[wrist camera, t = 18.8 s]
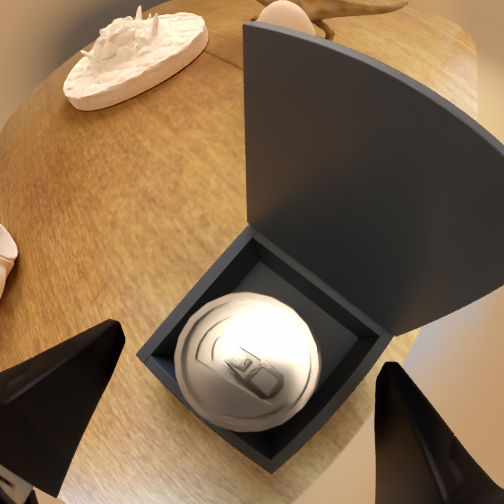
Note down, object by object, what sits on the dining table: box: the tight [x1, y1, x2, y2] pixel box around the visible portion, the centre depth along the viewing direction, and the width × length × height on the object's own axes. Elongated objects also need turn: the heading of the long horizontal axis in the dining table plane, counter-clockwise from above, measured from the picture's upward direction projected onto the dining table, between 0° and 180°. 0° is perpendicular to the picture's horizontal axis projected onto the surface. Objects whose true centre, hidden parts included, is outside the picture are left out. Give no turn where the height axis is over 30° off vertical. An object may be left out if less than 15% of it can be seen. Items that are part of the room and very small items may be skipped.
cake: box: [63, 6, 209, 111], centre depth 33 cm, size 28×28×10 cm
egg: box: [257, 0, 316, 36], centre depth 25 cm, size 7×7×12 cm
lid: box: [243, 21, 504, 337], centre depth 10 cm, size 12×12×1 cm
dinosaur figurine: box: [251, 0, 408, 41], centre depth 27 cm, size 8×26×13 cm, turn 61°
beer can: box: [174, 291, 322, 432], centre depth 14 cm, size 5×5×12 cm
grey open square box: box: [136, 224, 394, 474], centre depth 18 cm, size 12×12×6 cm
